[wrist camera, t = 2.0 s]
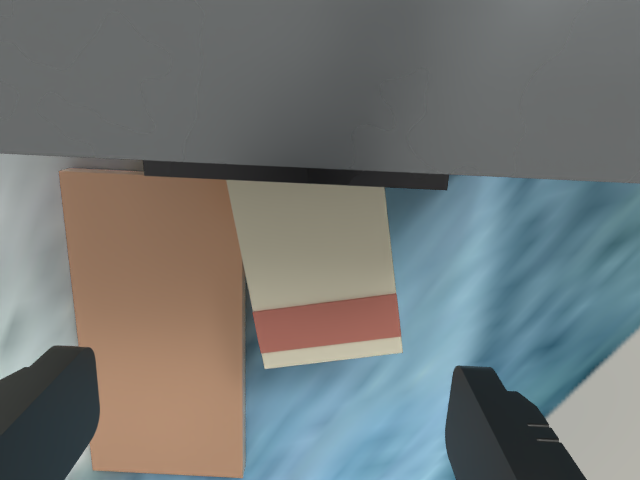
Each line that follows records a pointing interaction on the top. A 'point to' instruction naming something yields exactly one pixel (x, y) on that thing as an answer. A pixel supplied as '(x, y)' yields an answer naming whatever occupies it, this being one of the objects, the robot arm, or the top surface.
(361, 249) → the cream box
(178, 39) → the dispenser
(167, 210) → the tile
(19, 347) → the top surface
